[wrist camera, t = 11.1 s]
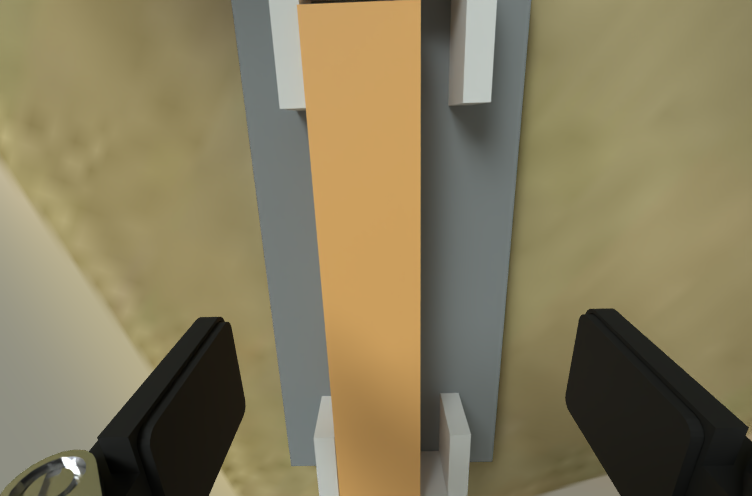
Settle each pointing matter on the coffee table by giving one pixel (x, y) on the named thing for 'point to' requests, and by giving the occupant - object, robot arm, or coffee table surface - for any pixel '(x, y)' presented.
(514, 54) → the cap board
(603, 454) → the robot arm
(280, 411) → the coffee table surface
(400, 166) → the slat
